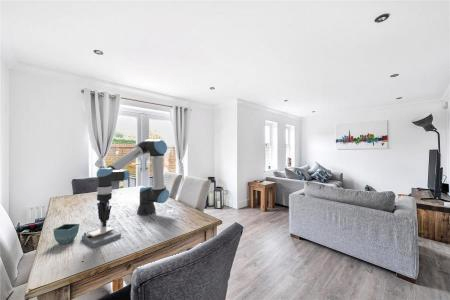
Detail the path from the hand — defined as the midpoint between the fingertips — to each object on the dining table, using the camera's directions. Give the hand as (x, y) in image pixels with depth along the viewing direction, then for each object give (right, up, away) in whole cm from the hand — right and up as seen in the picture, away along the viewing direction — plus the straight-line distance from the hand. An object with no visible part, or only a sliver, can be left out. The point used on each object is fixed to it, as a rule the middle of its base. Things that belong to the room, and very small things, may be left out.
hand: (103, 231), depth 113 cm
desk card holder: (-2, -5, +1) cm, 6 cm away
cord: (-5, -3, +3) cm, 6 cm away
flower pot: (-20, -5, -3) cm, 21 cm away
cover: (-3, -1, +2) cm, 4 cm away
